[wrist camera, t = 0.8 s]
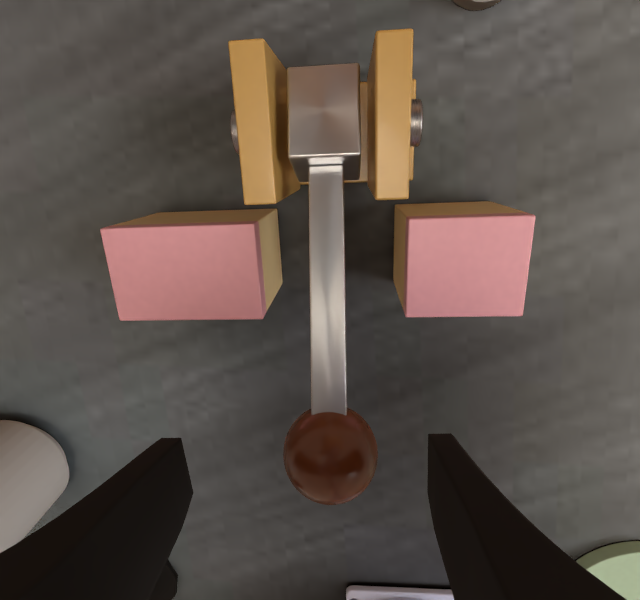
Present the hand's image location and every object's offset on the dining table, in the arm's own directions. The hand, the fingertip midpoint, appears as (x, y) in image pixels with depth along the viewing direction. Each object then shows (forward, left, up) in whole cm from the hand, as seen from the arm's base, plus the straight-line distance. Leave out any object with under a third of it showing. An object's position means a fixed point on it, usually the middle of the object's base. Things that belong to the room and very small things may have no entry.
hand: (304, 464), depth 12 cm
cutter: (+4, -1, -4) cm, 6 cm away
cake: (+4, +5, -10) cm, 12 cm away
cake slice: (+4, -6, -10) cm, 13 cm away
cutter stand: (+9, -1, -10) cm, 14 cm away
